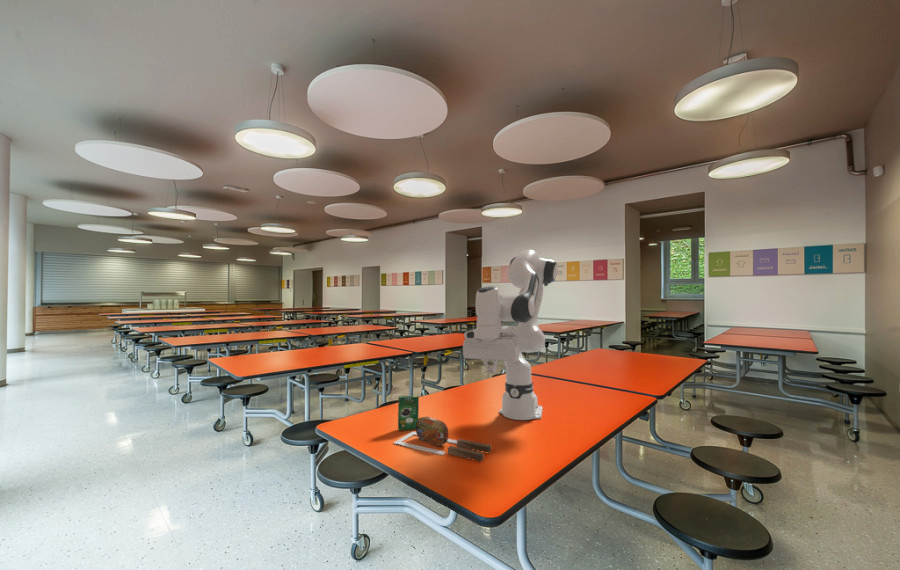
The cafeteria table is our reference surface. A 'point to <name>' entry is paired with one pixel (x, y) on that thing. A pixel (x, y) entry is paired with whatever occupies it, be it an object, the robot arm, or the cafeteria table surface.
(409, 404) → the coffee box
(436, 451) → the frame
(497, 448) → the cafeteria table surface
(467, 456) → the dark brown parallel bars
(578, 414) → the cafeteria table surface
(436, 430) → the tin
